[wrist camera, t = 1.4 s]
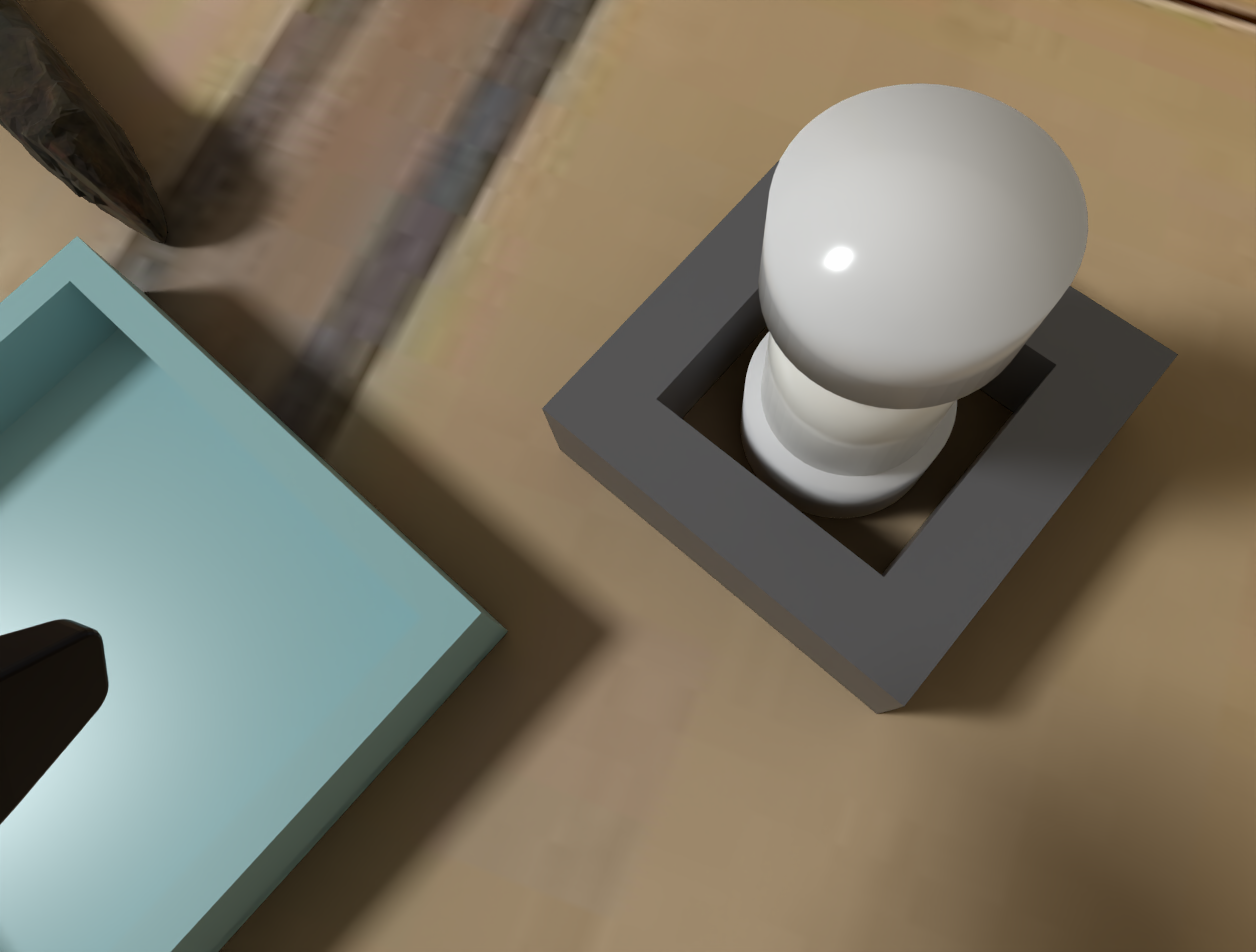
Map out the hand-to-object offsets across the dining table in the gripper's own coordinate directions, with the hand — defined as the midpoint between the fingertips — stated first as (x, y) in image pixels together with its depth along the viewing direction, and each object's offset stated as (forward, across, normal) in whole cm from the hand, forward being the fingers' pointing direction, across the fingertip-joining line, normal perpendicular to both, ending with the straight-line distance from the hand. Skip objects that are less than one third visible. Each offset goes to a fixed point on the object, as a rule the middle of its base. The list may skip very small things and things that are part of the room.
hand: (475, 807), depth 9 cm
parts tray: (+8, +14, +11) cm, 20 cm away
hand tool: (+21, +27, -1) cm, 34 cm away
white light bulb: (+17, -3, +2) cm, 18 cm away
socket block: (+17, -3, +2) cm, 18 cm away
